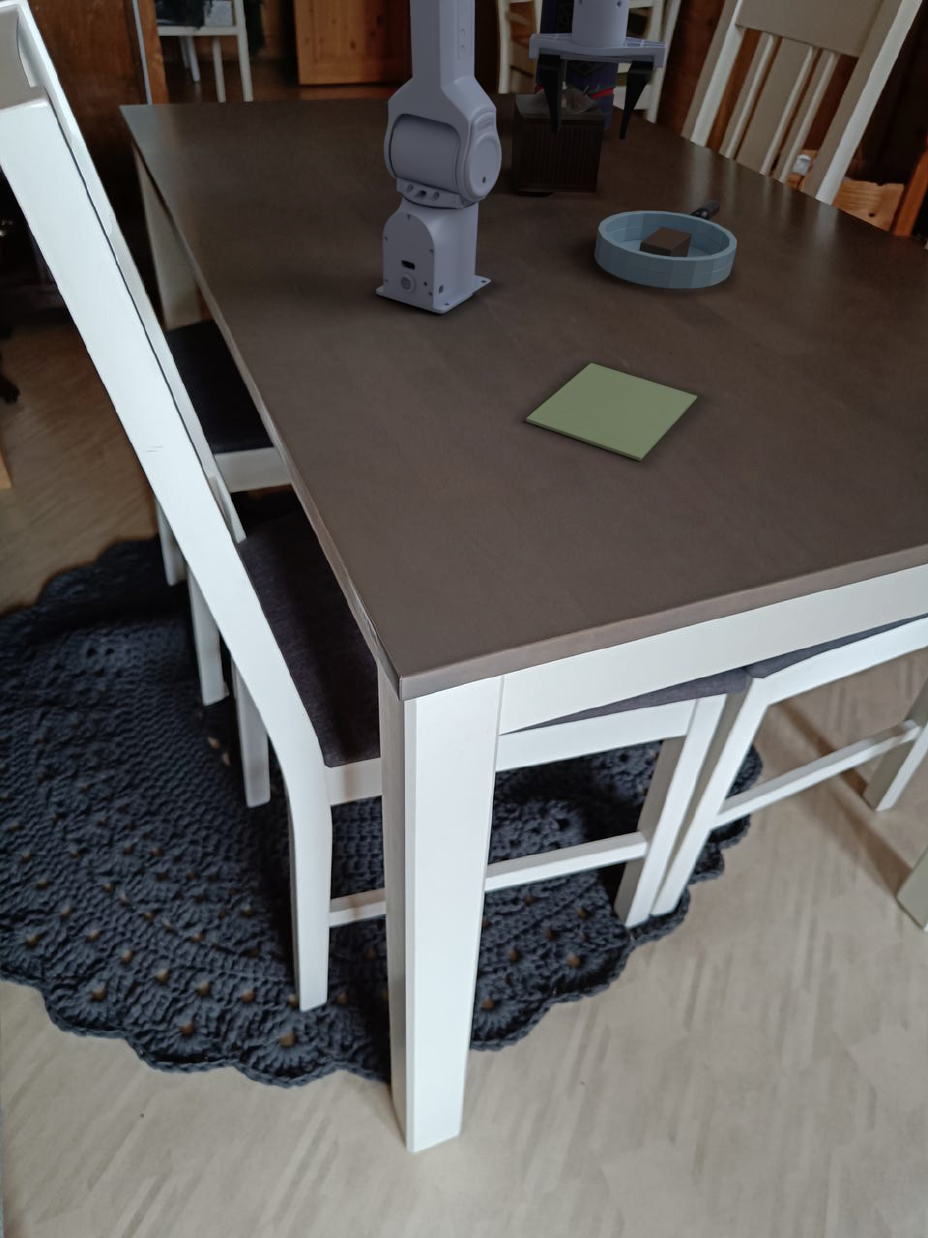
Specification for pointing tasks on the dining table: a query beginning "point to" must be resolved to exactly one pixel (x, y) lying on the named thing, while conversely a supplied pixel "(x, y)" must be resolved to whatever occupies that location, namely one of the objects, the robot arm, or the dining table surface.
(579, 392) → the cloth
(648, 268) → the pan
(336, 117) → the dining table surface
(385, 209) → the dining table surface
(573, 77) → the dark blue tall block
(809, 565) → the dining table surface
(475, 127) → the robot arm
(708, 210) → the pan handle
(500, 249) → the dining table surface
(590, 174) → the vintage coffee grinder
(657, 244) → the chocolate
